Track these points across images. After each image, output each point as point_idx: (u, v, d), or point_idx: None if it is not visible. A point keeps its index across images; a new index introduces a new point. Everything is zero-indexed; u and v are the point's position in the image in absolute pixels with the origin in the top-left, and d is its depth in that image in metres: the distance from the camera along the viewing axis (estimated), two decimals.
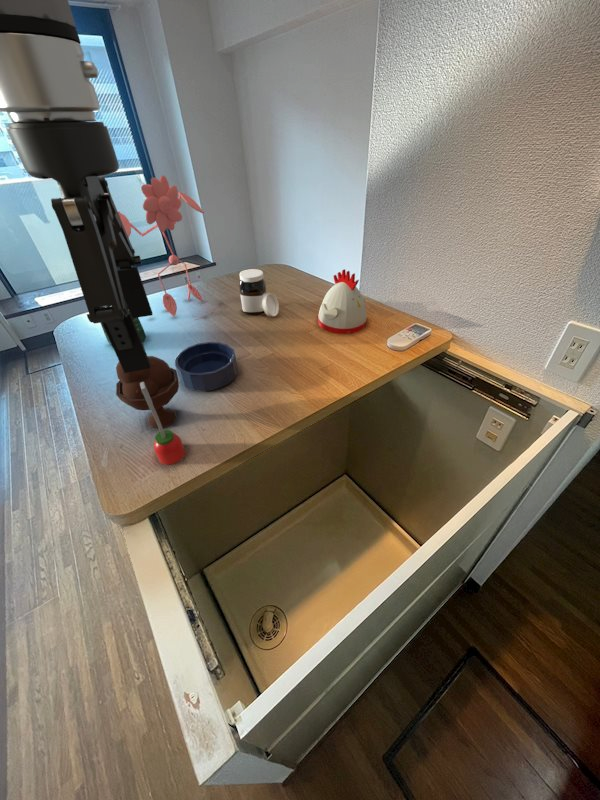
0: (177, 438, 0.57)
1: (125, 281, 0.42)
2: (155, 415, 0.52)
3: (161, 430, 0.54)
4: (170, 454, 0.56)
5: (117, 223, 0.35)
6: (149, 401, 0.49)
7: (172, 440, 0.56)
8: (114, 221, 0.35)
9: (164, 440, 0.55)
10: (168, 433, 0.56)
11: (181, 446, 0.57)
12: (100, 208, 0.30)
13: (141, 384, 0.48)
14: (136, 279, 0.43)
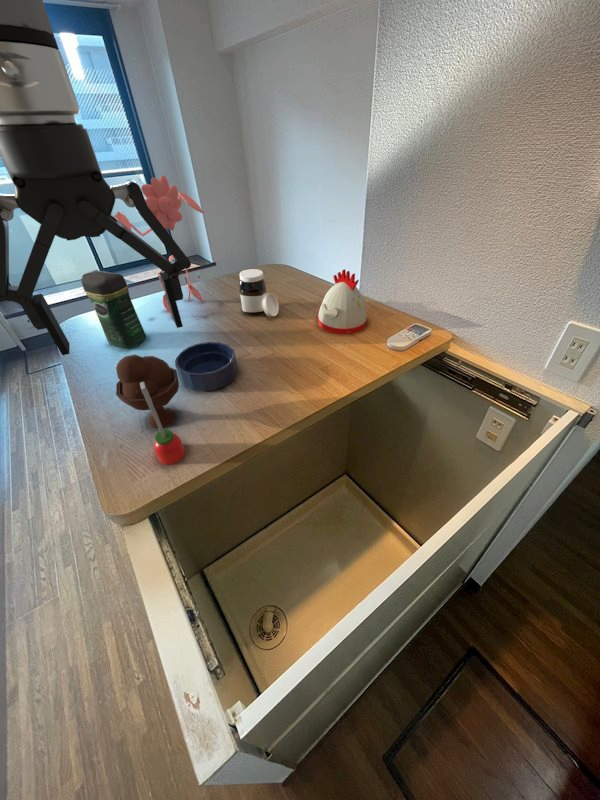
0: (177, 438, 0.57)
1: (163, 286, 0.42)
2: (155, 415, 0.52)
3: (161, 430, 0.54)
4: (170, 454, 0.56)
5: (106, 229, 0.34)
6: (149, 401, 0.49)
7: (172, 440, 0.56)
8: (102, 226, 0.34)
9: (164, 440, 0.55)
10: (168, 433, 0.56)
11: (181, 446, 0.57)
12: (46, 209, 0.31)
13: (141, 384, 0.48)
14: (165, 289, 0.41)
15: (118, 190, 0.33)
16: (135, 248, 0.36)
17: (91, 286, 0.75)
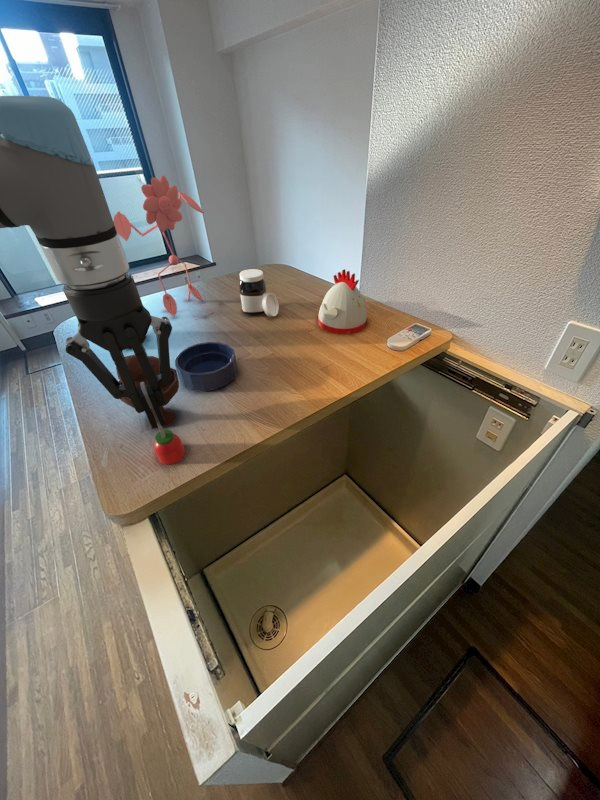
0: (177, 438, 0.57)
1: None
2: (155, 415, 0.52)
3: (161, 430, 0.54)
4: (170, 454, 0.56)
5: (131, 347, 0.43)
6: (149, 401, 0.49)
7: (172, 440, 0.56)
8: (130, 344, 0.43)
9: (164, 440, 0.55)
10: (168, 433, 0.56)
11: (181, 446, 0.57)
12: (100, 335, 0.40)
13: (141, 384, 0.48)
14: (150, 400, 0.49)
15: (155, 321, 0.43)
16: (141, 365, 0.45)
17: None
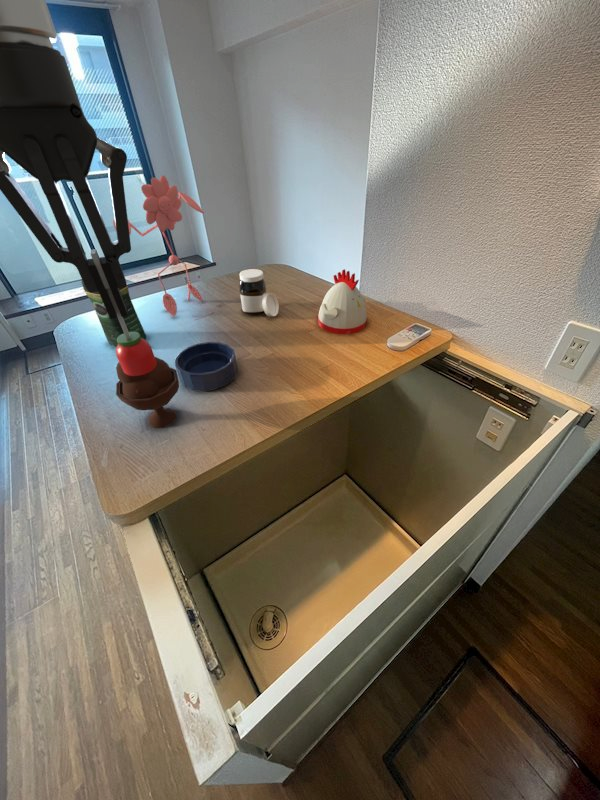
0: (145, 342, 0.46)
1: None
2: (113, 301, 0.41)
3: (123, 326, 0.43)
4: (136, 361, 0.44)
5: (70, 176, 0.31)
6: (103, 276, 0.38)
7: (138, 342, 0.44)
8: (68, 171, 0.31)
9: (128, 341, 0.44)
10: (134, 334, 0.45)
11: (151, 354, 0.46)
12: (21, 146, 0.29)
13: (91, 251, 0.37)
14: (105, 275, 0.38)
15: (103, 144, 0.32)
16: (87, 211, 0.34)
17: None
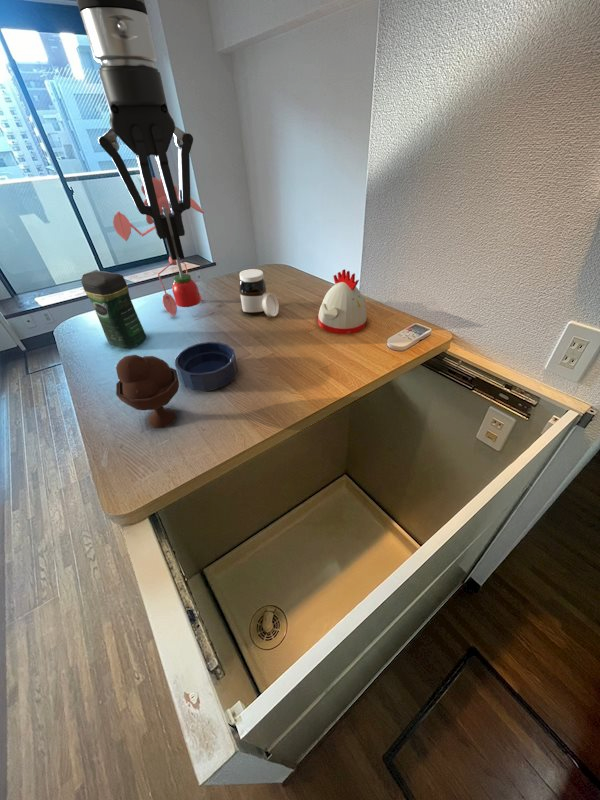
0: (194, 282, 0.61)
1: None
2: (175, 246, 0.56)
3: (180, 267, 0.58)
4: (188, 294, 0.60)
5: (157, 152, 0.47)
6: (170, 226, 0.53)
7: (189, 280, 0.60)
8: (156, 149, 0.47)
9: (182, 278, 0.59)
10: (186, 275, 0.60)
11: (197, 291, 0.61)
12: (129, 131, 0.44)
13: (163, 207, 0.52)
14: (171, 225, 0.53)
15: (178, 131, 0.47)
16: (165, 178, 0.49)
17: (91, 286, 0.75)
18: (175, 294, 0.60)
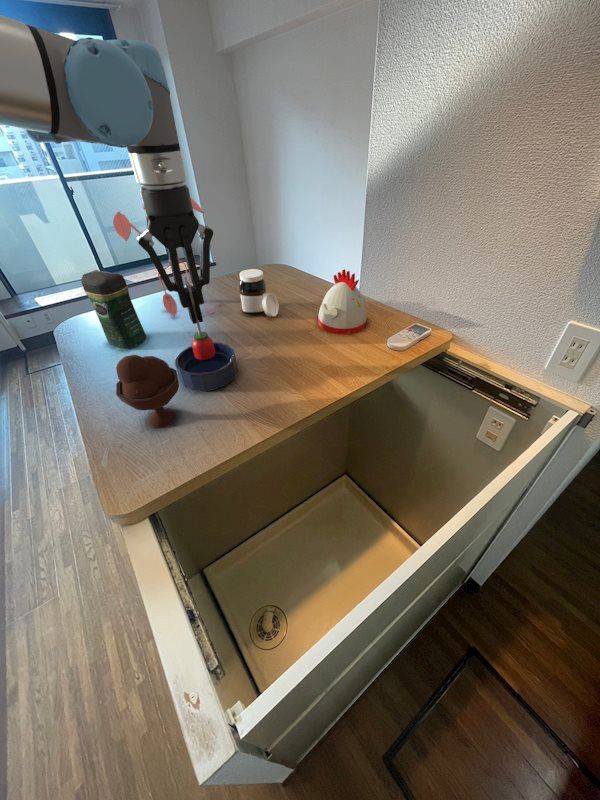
0: (210, 338, 0.71)
1: None
2: (195, 312, 0.66)
3: (199, 328, 0.68)
4: (205, 350, 0.70)
5: (184, 245, 0.57)
6: (192, 298, 0.64)
7: (206, 338, 0.70)
8: (183, 243, 0.57)
9: (201, 337, 0.69)
10: (203, 333, 0.70)
11: (213, 345, 0.72)
12: (163, 232, 0.55)
13: (186, 283, 0.62)
14: (193, 297, 0.64)
15: (201, 227, 0.57)
16: (189, 263, 0.59)
17: (91, 285, 0.75)
18: (194, 349, 0.70)
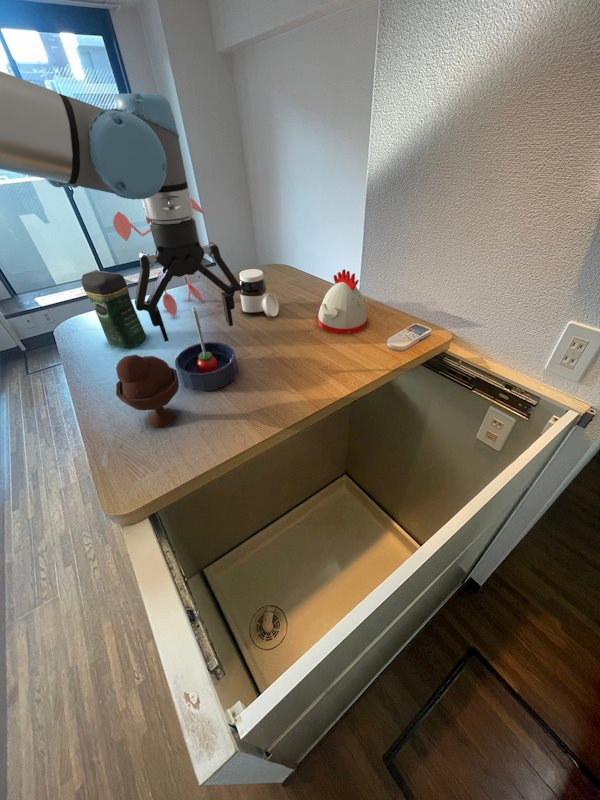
0: (214, 358, 0.74)
1: (223, 300, 0.68)
2: (201, 335, 0.69)
3: (204, 349, 0.72)
4: (210, 369, 0.73)
5: (198, 270, 0.60)
6: (198, 322, 0.67)
7: (211, 358, 0.73)
8: (196, 269, 0.60)
9: (205, 357, 0.72)
10: (208, 353, 0.74)
11: (217, 365, 0.75)
12: (170, 261, 0.58)
13: (193, 308, 0.66)
14: (225, 303, 0.67)
15: (206, 249, 0.60)
16: (211, 280, 0.63)
17: (91, 285, 0.75)
18: (199, 369, 0.74)
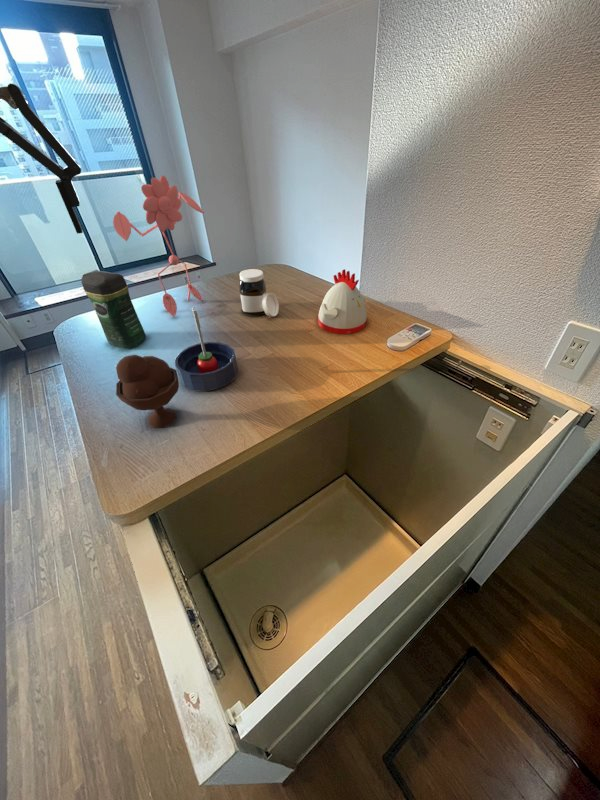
0: (214, 358, 0.74)
1: None
2: (201, 335, 0.69)
3: (204, 349, 0.72)
4: (210, 369, 0.73)
5: None
6: (198, 322, 0.67)
7: (211, 358, 0.73)
8: None
9: (205, 357, 0.72)
10: (208, 353, 0.74)
11: (217, 365, 0.75)
12: None
13: (193, 308, 0.66)
14: (60, 193, 0.46)
15: (0, 91, 0.39)
16: (23, 148, 0.42)
17: (91, 285, 0.75)
18: (199, 369, 0.74)
